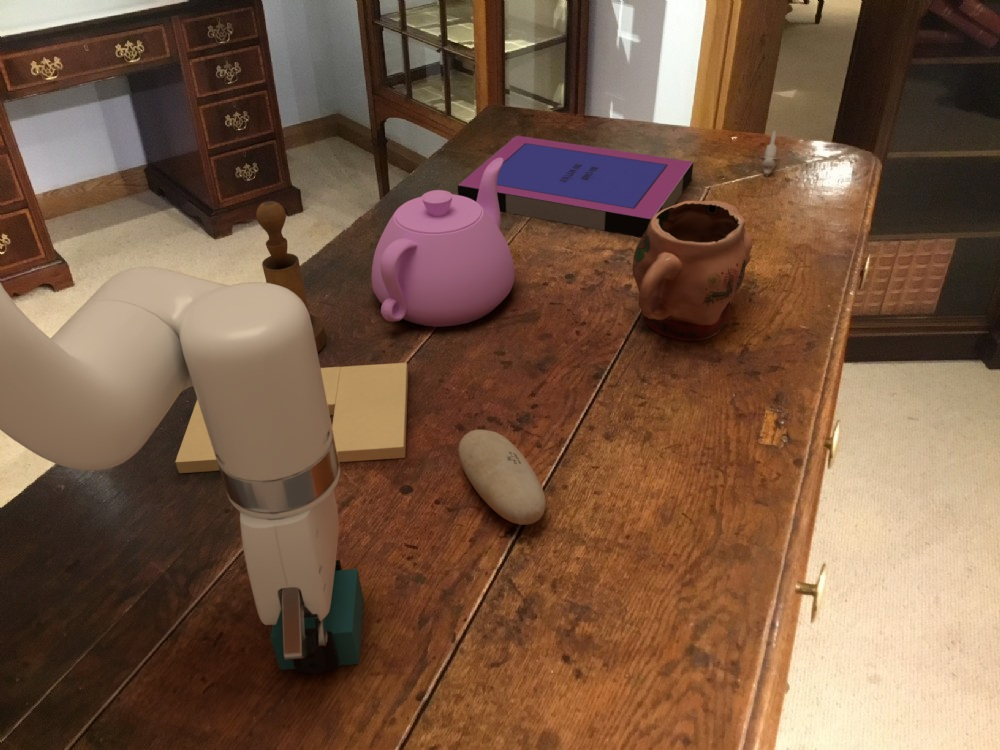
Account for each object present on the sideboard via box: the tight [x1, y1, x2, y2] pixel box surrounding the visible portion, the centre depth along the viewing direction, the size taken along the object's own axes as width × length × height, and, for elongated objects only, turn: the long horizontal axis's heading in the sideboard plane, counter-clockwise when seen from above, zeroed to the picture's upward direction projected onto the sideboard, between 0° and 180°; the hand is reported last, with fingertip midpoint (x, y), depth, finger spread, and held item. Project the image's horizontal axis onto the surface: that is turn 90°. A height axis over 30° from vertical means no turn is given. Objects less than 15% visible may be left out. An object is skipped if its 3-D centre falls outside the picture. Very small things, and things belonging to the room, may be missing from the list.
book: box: [457, 135, 694, 238], centre depth 130 cm, size 21×3×30 cm
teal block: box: [269, 568, 365, 671], centre depth 66 cm, size 6×6×4 cm
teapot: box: [371, 158, 516, 328], centre depth 104 cm, size 25×18×14 cm
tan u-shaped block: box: [174, 362, 409, 474], centre depth 88 cm, size 22×14×2 cm, turn 94°
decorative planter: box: [632, 200, 753, 342], centre depth 96 cm, size 20×12×14 cm, turn 147°
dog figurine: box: [758, 130, 781, 178], centre depth 134 cm, size 3×8×6 cm
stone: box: [458, 429, 547, 526], centre depth 78 cm, size 6×6×12 cm
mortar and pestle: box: [255, 200, 327, 353], centre depth 94 cm, size 7×6×18 cm
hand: (322, 629), depth 67 cm, fingers closed on teal block, 6 cm apart
